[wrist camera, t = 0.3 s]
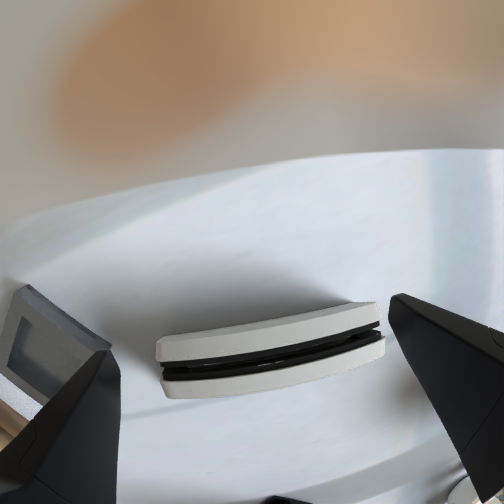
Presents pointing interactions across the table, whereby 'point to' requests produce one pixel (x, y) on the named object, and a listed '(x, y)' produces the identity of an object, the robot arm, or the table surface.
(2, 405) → the walnut collar block
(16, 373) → the metal cradle
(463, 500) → the cosmetic set
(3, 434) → the oak axle peg
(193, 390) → the white plastic device casing
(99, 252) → the table surface
